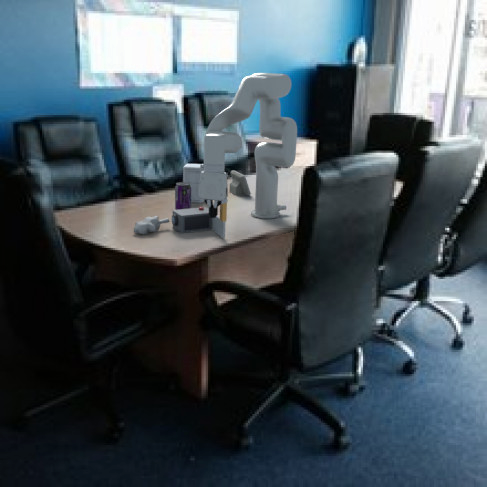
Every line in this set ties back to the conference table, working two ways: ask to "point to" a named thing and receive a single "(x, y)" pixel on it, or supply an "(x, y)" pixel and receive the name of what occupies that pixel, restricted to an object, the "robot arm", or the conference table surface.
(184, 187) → the beverage can
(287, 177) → the conference table surface
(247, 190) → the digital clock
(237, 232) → the conference table surface
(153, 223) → the bunny figurine
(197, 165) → the supplement box
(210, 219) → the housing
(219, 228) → the door
